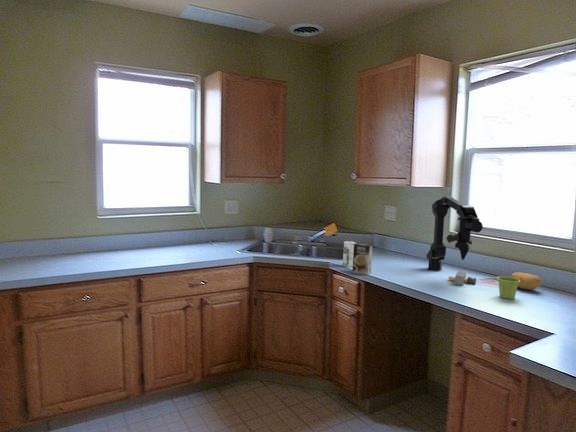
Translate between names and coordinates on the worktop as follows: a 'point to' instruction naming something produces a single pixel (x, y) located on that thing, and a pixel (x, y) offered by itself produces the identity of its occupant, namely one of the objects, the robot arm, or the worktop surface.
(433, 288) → the worktop surface
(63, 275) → the worktop surface
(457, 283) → the housing
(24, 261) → the worktop surface
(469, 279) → the plug
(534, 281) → the potato
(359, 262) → the coffee box
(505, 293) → the plant pot
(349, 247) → the syrup box
